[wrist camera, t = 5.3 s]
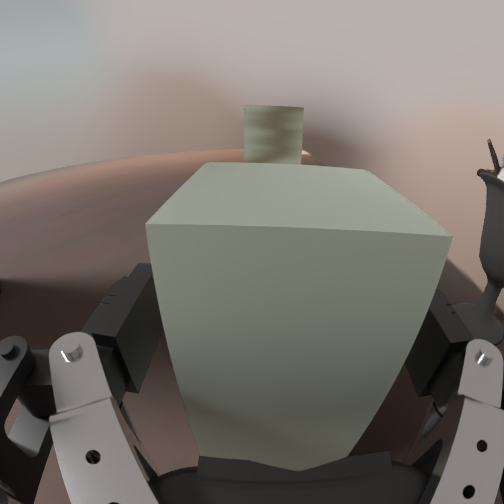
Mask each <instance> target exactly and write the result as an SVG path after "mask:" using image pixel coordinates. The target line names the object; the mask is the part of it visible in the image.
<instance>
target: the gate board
mask: <svg viewBox="0 0 504 504" xmlns="http://www.w3.org/2000/svg"><path fill="white" fill-rule="evenodd" d="M303 110H304V108H301V107H284V106H257V105H255V106H254V105H250V106H249V105H245V107H244V111H245V112H244V163H274V164H296V165H301V154H302V134H303Z"/></svg>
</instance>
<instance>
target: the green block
mask: <svg viewBox="0 0 504 504" xmlns="http://www.w3.org/2000/svg"><path fill="white" fill-rule="evenodd" d="M145 226H146V234H147V241H148V247H149V254H150V260H151V266H152V272H153V277H154V283H155V288H156V294H157V299H158V304H159V309H160V313H161V318H162V323H163V327H164V332H165V336H166V340H167V345H168V349H169V353H170V357H171V361H172V365H173V368H174V372H175V376H176V380H177V383H178V387H179V390H180V394H181V397H182V401H183V404H184V407H185V411H186V414H187V417H188V420H189V424H190V427H191V430H192V433H193V436H194V439H195V442H196V445H197V447H198V450H199V453H200V456H206V457H215V458H226V459H240V460H250V461H254V462H258V463H262V464H266V465H270V466H274V467H279V468H284V469H288V470H294V471H302V470H306V469H310V468H313V467H317V466H320V465H323V464H327V463H330V462H333V461H336V460H339V459H342V458H345V457H347V456H348V454H349V453H350V452H351V450H352V449H353V447H354V446H355V445H356V443H357V442H358V440H359V439H360V437H361V436H362V434H363V433H364V431H365V430H366V428H367V427H368V425H369V424H370V422H371V421H372V419H373V417H374V416H375V414H376V413H377V411H378V409H379V408H380V406H381V404H382V403H383V401H384V399H385V397H386V396H387V394H388V392H389V390H390V389H391V387H392V385H393V383H394V381H395V379H396V378H397V376H398V374H399V372H400V370H401V368H402V366H403V364H404V362H405V360H406V358H407V356H408V354H409V352H410V350H411V348H412V346H413V343H414V341H415V339H416V337H417V335H418V332H419V330H420V328H421V326H422V323H423V321H424V318H425V316H426V314H427V311H428V309H429V306H430V304H431V301H432V298H433V296H434V293H435V290H436V288H437V285H438V282H439V279H440V276H441V273H442V270H443V267H444V264H445V261H446V258H447V254H448V251H449V247H450V244H451V241H452V237H453V236H452V235H450V234H449V233H448V232H447V231H446V230H444V229H443V228H442V227H441V226H440V225H438V224H437V223H436V222H435V221H434V220H433V219H431V218H430V217H429V216H428V215H426V214H425V213H424V212H423V211H422V210H420V209H419V208H418V207H416V206H415V205H414V204H413V203H411V202H410V201H408V200H407V199H406V198H405V197H403V196H402V195H400V194H399V193H398V192H397V191H395V190H394V189H393V188H391V187H390V186H388V185H387V184H386V183H384V182H383V181H381V180H380V179H379V178H377V177H376V176H374V175H373V174H371V173H370V172H369V171H367V170H360V169H349V168H338V167H326V166H312V165H296V164H274V163H205V164H204V165H203V166H202V167H201V168H200V169H199V170H198V171H197V172H196V173H195V174H194V175H193V176H192V177H191V178H190V179H189V180H188V181H187V182H185V183H184V184H183V185H182V186H181V187H180V188H179V189H178V190H177V191H176V192H175V193H174V194H173V195H172V196H171V197H170V198H169V200H168V201H167V202H166V203H165V204H164V205H163V206H162V207H161V208H160V209H159V210H158V211H157V212H156V213H155V214H154V215H153V216H152V217H151V218H150V219H149V220H148V221H147V223H146V224H145Z"/></svg>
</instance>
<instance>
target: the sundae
mask: <svg viewBox="0 0 504 504" xmlns="http://www.w3.org/2000/svg"><path fill="white" fill-rule="evenodd" d="M488 146H489V149H490V153H491V157H492V160H493V164H494V168H495V170H488V169H486V170H484V169H479V170H478V171H477V175H478V176H480V177H481V178H482V179H483V181H484V182H485V184H486V187H487V200H486V212H485V219H484V225H483V231H482V237H481V245H480V254H479V257H480V260H481V263H482V267H483V269H484V271H485V273H486V275H487V279H488V283H487V286H486V288H485V291H484V293H483V295H482V297H481V298H480V300H479V301H478V303H473V302H460V303H457V304H456V305H454V306H453V308H454V309H455V311H456V314H458V315H459V316H460V318H461V319H462V321H463V322H464V324H465V325H466V327H467V328H468V330H469V331H470V333H471V334H472V336H473V337H474V339H482V340H485V341H488V342H490V343H492V344H493V345H495V344H498V343H499V342H500V341H501V340H502V339H503V335H504V329H503V326H502V324H501V322H500V320H499V319H498V318H497V316H496V315H495V314H494V313H493V311H494V306H495V303H496V300H497V298H498V296H499V294H500V291H501V289H502V288H504V154H503V157H502V167H500V166H499V163H498V159H497V156H496V153H495V150H494V148H493V145H492V143H491V140H490V139H489V140H488Z"/></svg>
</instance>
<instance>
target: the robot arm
mask: <svg viewBox="0 0 504 504" xmlns="http://www.w3.org/2000/svg"><path fill="white" fill-rule="evenodd" d="M0 288H1V285H0ZM163 329H164V327H163V323H162V318H161V313H160V309H159V304H158V299H157V294H156V288H155V283H154V277H153V272H152V266H151V263H138V264H137V266H136V267H135V268H134V270H133V271H132V273H131V274H130V275H129V277H125V276H124V277H123V278H122V279H120V280H119V281H117V282H116V283H114V284H113V285H112V286H111V288H110V289H109V291H108V292H107V293H106V296H104V298H103V299H102V300H101V302H100V304H99V305H98V306H97V307H96V309H95V310H94V312H93V313H92V315H91V316H90V318H89V319H88V321H87V322H86V324H85V325H84V326H83V328H82V329H81V331H80V332H73V333H69V334H66V335H64V336H62V337H60V338H59V339H58V340H56V341H55V342H54V344H53V345H52V346H51V348H50V349H41V350H31V349H30V348H29V346H28V344H27V342H26V340H25V339H24V338H23V337H21V336H10V337H7V338H5V339H3V340H1V341H0V504H34V500H35V497H36V493H37V490H38V486H39V483H40V480H41V477H42V474H43V471H44V467H45V464H46V462H47V459H48V456H49V453H50V450H51V447H52V445H53V443H54V447H55V451H56V455H57V459H58V463H59V466H60V470H61V473H62V477H63V480H64V483H65V486H66V489H67V492H68V495H69V498H70V501H71V503H72V504H494V502H495V499H496V496H497V492H498V488H499V487H500V491H501V496H502V500H503V504H504V357H502V355H501V353H500V351H499V350H498V349H497V348H496V347H495V346H494V345H493V344H492V343H490V342H488V341H485V340H482V339H474V337H473V336H472V334H471V333H470V331H469V330H468V328H467V327H466V325H465V324H464V322H463V321H462V319H461V318H460V316H459V315H458V314H456V311H455V309H454V308H453V306H451V304H450V302H449V301H448V299H447V298H446V297H445V295H444V294H443V293H441V292H440V291H439V290H437V289H436V290H435V293H434V296H433V298H432V301H431V304H430V306H429V309H428V311H427V314H426V316H425V318H424V321H423V323H422V326H421V328H420V330H419V332H418V335H417V337H416V339H415V341H414V343H413V346H412V348H411V350H410V352H409V354H408V356H407V358H406V360H405V364H406V367H407V369H408V372H409V374H410V377H411V379H412V382H413V384H414V387H415V390H416V392H417V395H418V397H421V396H426V395H432V397H433V400H432V401H431V402H430V404H429V406H428V409H427V411H426V414H425V417H424V419H423V422H422V425H421V427H420V430H419V432H418V434H417V437H416V439H415V442H414V444H413V446H412V448H411V450H410V452H409V453H408V455H407V456H406V457H405V459H404V460H403V461H402V463H400V462H394V461H391V458H390V454H389V450H388V451H383V452H377V453H371V454H364V455H357V456H349V457H345V458H342V459H339V460H336V461H333V462H330V463H327V464H323V465H320V466H317V467H313V468H310V469H306V470H302V471H294V470H288V469H284V468H279V467H274V466H270V465H266V464H262V463H258V462H254V461H250V460H240V459H226V458H215V457H206V456H199V461H198V466H195V467H187V468H182V469H178V470H174V471H171V472H168V473H165V474H163V475H160V474H159V472H158V470H157V468H156V467H155V465H154V463H153V462H152V460H151V459H150V457H149V455H148V453H147V452H146V450H145V448H144V446H143V444H142V442H141V440H140V438H139V436H138V434H137V431H136V429H135V427H134V425H133V423H132V420H131V418H130V416H129V414H128V411H127V409H126V407H125V404H124V402H123V400H122V399H123V397H124V394H125V392H126V391H128V392H133V393H139V391H140V388H141V385H142V382H143V380H144V377H145V374H146V372H147V369H148V367H149V364H150V361H151V359H152V356H153V354H154V351H155V349H156V346H157V344H158V341H159V339H160V336H161V334H162V331H163ZM16 398H17V399H18V400H19V401H20V402H21V404H22V407H21V409H20V411H19V414H18V416H17V418H16V420H15V422H14V424H13V426H12V429H11V431H10V433H9V435H8V437H7V435H6V433H5V429H4V425H5V421H6V418H7V416H8V414H9V412H10V410H11V408H12V406H13V404H14V402H15V400H16Z"/></svg>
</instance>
